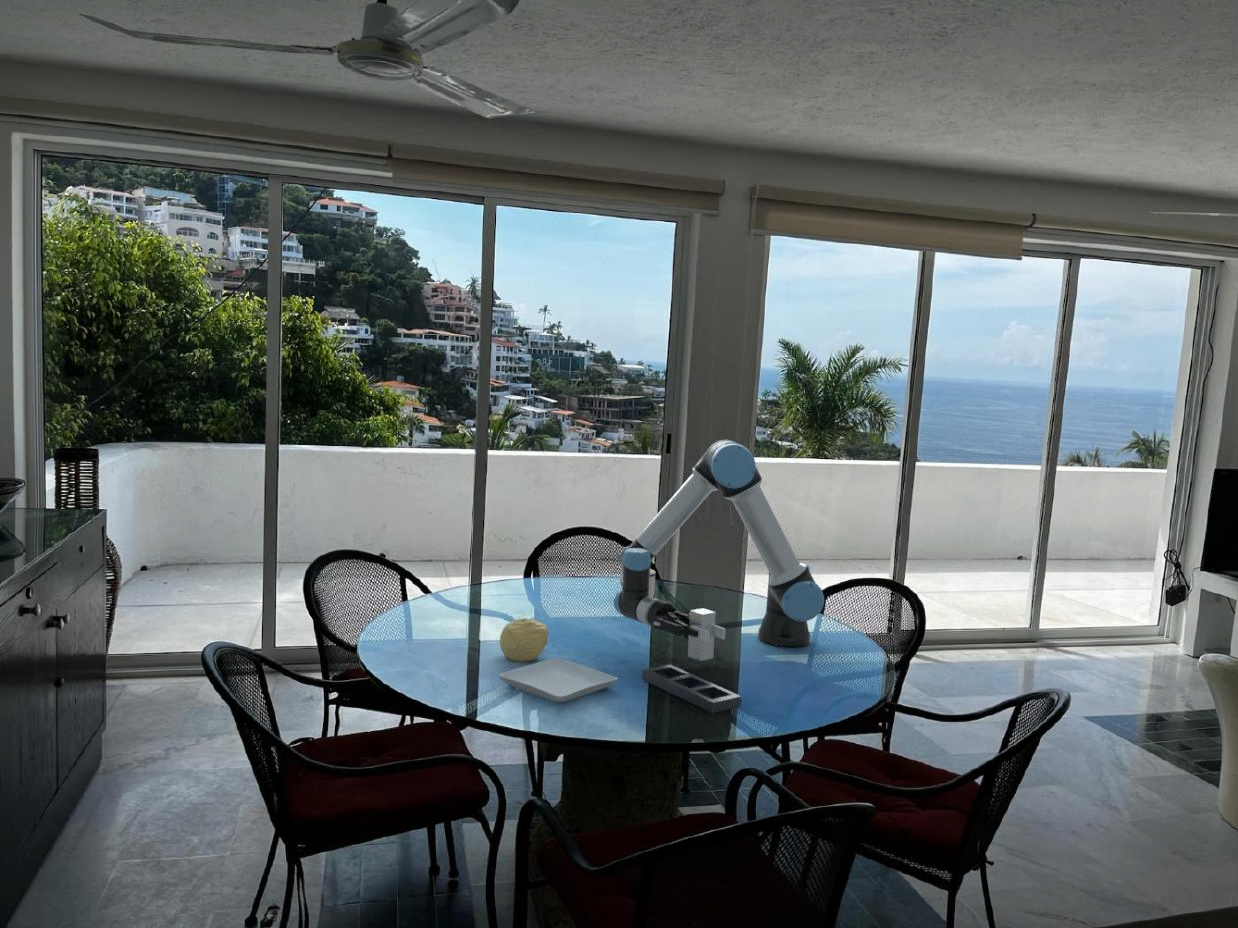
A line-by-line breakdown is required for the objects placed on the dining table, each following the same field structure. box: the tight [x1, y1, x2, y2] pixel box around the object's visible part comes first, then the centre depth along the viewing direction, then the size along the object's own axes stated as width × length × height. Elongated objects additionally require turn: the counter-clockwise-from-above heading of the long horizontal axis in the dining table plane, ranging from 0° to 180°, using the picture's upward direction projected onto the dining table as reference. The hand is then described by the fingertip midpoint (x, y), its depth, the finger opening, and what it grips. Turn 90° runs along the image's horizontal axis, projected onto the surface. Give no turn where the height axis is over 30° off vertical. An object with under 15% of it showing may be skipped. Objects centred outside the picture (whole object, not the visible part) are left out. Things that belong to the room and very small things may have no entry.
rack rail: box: [641, 664, 742, 714], centre depth 230 cm, size 9×26×2 cm, turn 37°
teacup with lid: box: [619, 568, 657, 597], centre depth 321 cm, size 12×9×12 cm
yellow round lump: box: [499, 617, 549, 663], centre depth 249 cm, size 12×12×11 cm
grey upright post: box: [687, 607, 716, 662], centre depth 242 cm, size 5×5×12 cm
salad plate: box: [497, 657, 619, 703], centre depth 229 cm, size 21×21×3 cm
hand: (716, 635), depth 238 cm, fingers closed on grey upright post, 5 cm apart
